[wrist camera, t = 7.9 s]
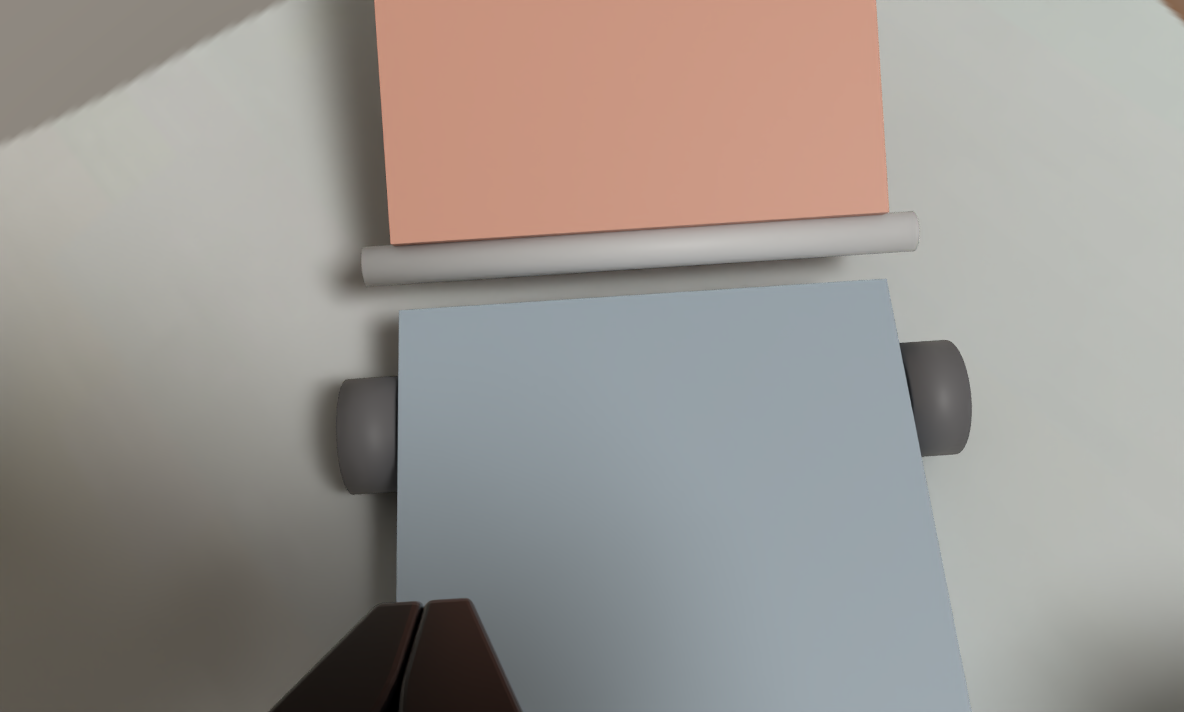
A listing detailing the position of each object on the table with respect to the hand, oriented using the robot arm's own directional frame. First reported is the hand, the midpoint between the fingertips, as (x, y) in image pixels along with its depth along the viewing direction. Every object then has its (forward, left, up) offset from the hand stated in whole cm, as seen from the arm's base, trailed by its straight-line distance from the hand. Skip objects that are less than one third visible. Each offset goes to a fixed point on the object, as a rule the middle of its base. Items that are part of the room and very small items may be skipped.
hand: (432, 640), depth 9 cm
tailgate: (+10, -3, -11) cm, 15 cm away
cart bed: (+2, -3, -14) cm, 14 cm away
